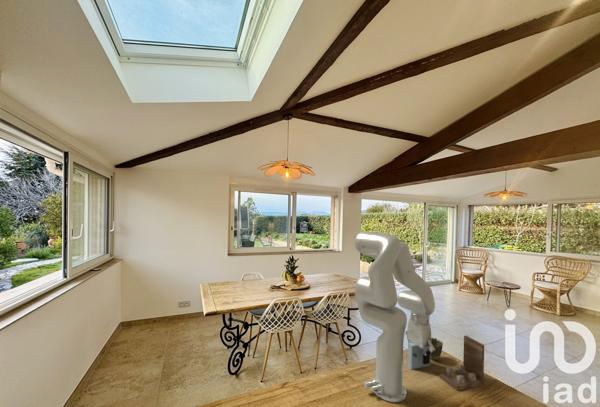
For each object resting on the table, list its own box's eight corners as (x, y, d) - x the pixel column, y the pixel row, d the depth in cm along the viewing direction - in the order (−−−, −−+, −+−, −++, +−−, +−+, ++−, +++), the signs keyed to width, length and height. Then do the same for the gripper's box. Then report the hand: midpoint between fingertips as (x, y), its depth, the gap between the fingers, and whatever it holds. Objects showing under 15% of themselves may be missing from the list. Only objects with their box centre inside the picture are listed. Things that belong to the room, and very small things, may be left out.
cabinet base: (456, 390, 101) (457, 349, 101) (439, 377, 109) (440, 339, 109) (484, 384, 105) (484, 344, 106) (465, 372, 113) (466, 335, 113)
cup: (438, 354, 126) (438, 337, 126) (445, 363, 119) (445, 345, 119) (422, 353, 127) (422, 336, 127) (427, 362, 119) (428, 344, 119)
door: (412, 370, 113) (413, 346, 113) (407, 366, 116) (408, 343, 116) (431, 366, 116) (431, 343, 116) (425, 362, 119) (426, 340, 119)
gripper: (399, 311, 124) (398, 349, 124) (428, 327, 107) (427, 371, 107) (412, 309, 126) (411, 347, 126) (442, 325, 110) (441, 368, 109)
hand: (418, 358), depth 116 cm, fingers open, 7 cm apart
